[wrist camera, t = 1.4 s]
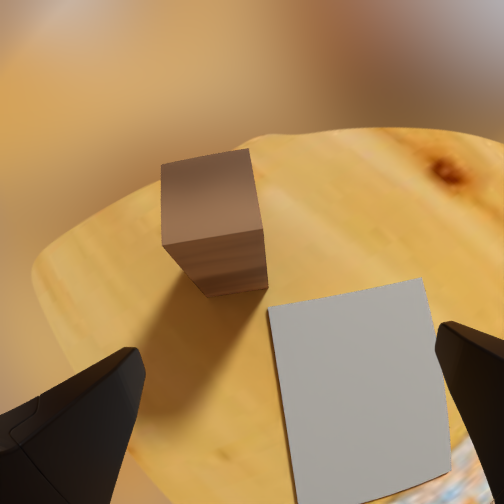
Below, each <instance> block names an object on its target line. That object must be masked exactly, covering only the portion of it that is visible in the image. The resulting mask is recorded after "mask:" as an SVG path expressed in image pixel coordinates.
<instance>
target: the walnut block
mask: <svg viewBox="0 0 504 504" xmlns="http://www.w3.org/2000/svg"><path fill="white" fill-rule="evenodd" d="M161 234H162V246H163V247H164V249H165V250H166V251H167V252H168V253H169V254H170V256H171V257H172V258H173V259H174V260H175V261H176V263H177V264H178V265H179V266H180V267H181V268H182V270H183V271H184V272H185V273H186V274H187V275H188V276H189V278H190V279H191V280H192V281H193V282H194V283H195V284H196V285H197V287H198V288H199V289H200V290H201V291H202V292H203V293H204V294H205V296H206V297H213V296H220V295H227V294H233V293H240V292H246V291H253V290H259V289H266V288H269V287H268V276H267V265H266V255H265V244H264V234H263V226H262V220H261V214H260V209H259V203H258V198H257V192H256V186H255V181H254V175H253V170H252V164H251V159H250V153H249V148H247V149H241V150H235V151H229V152H224V153H218V154H212V155H207V156H202V157H197V158H191V159H186V160H181V161H177V162H172V163H167V164H162V165H161Z"/></svg>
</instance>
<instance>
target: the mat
mask: <svg viewBox="0 0 504 504" xmlns="http://www.w3.org/2000/svg"><path fill="white" fill-rule="evenodd" d="M268 311H269V318H270V324H271V330H272V337H273V343H274V349H275V356H276V362H277V368H278V375H279V381H280V388H281V394H282V401H283V407H284V413H285V420H286V427H287V433H288V440H289V446H290V453H291V459H292V466H293V473H294V479H295V486H296V493H297V500H298V504H360V503H364V502H368V501H371V500H374V499H378V498H381V497H384V496H387V495H390V494H393V493H396V492H399V491H402V490H405V489H408V488H410V487H413V486H416V485H418V484H421V483H423V482H426V481H428V480H431V479H433V478H436V477H438V476H440V475H442V474H445V473H447V472H449V471H451V447H450V433H449V421H448V411H447V403H446V395H445V387H444V380H443V374H442V370H441V367H440V364H439V362H438V359H437V357H436V354H435V342H436V335H435V330H434V326H433V321H432V317H431V312H430V308H429V304H428V300H427V296H426V292H425V288H424V284H423V281H422V277H421V278H417V279H413V280H408V281H404V282H399V283H394V284H390V285H385V286H380V287H376V288H371V289H366V290H361V291H356V292H351V293H346V294H340V295H335V296H330V297H325V298H319V299H314V300H308V301H302V302H297V303H291V304H285V305H279V306H273V307H268Z"/></svg>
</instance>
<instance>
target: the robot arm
mask: <svg viewBox="0 0 504 504" xmlns="http://www.w3.org/2000/svg"><path fill="white" fill-rule="evenodd" d="M435 354H436V357H437V359H438V362H439V364H440V367H441V370H442V372H443V375H444V378H445V381H446V384H447V386H448V389H449V391H450V394H451V396H452V398H453V400H454V402H455V404H456V407H457V409H458V411H459V413H460V415H461V417H462V420H463V422H464V424H465V426H466V429H467V431H468V433H469V436H470V438H471V440H472V443H473V445H474V448H475V450H476V453H477V455H478V458H479V460H480V463H481V465H482V468H483V470H484V473H485V476H486V479H487V481H488V484H489V487H490V490H491V493H492V496H493V499H494V502H495V504H504V340H502V339H499V338H497V337H494V336H491V335H489V334H486V333H483V332H481V331H478V330H475V329H473V328H470V327H467V326H465V325H462V324H459V323H457V322H454V321H448V322H443V323H441V324H440V325H439V328H438V333H437V337H436V342H435ZM145 376H146V372H145V367H144V364H143V361H142V358H141V355H140V352H139V350H138V349H137V348H136V347H124V348H122V349H120V350H118V351H117V352H115V353H113V354H111V355H110V356H108V357H106V358H104V359H103V360H101V361H99V362H97V363H96V364H94V365H92V366H90V367H89V368H87V369H85V370H83V371H82V372H80V373H78V374H76V375H74V376H73V377H71V378H69V379H68V380H66V381H64V382H62V383H60V384H58V385H57V386H55V387H53V388H51V389H50V390H48V391H46V392H44V393H42V394H41V395H40V396H37V397H35V398H33V399H31V400H30V401H28V402H26V403H24V404H22V405H20V406H18V407H16V408H14V409H12V410H10V411H8V412H6V413H4V414H1V415H0V504H110V501H111V498H112V494H113V491H114V487H115V484H116V481H117V478H118V474H119V471H120V468H121V464H122V461H123V458H124V455H125V452H126V449H127V446H128V442H129V439H130V436H131V433H132V430H133V427H134V424H135V421H136V418H137V414H138V409H139V404H140V400H141V395H142V390H143V386H144V381H145Z"/></svg>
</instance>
